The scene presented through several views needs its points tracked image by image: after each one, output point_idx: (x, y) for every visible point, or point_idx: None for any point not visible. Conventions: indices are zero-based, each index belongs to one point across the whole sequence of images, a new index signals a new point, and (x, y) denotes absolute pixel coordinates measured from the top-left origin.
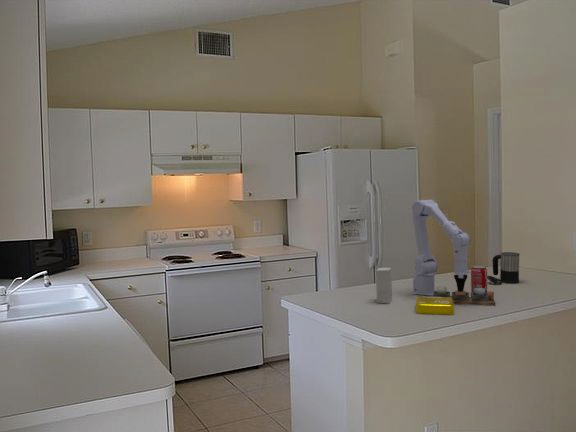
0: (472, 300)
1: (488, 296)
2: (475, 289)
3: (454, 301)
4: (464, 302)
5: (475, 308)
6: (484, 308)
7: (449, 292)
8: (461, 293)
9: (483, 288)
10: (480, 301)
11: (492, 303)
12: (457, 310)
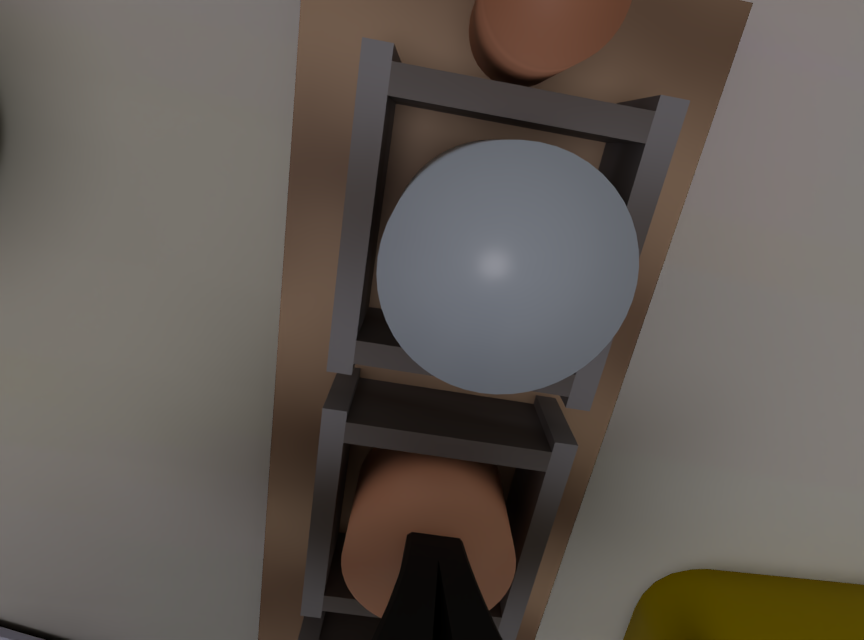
0: None
1: (683, 105)
2: (548, 381)
3: (560, 558)
4: (591, 453)
5: (813, 351)
6: (845, 235)
7: (318, 636)
8: (510, 551)
9: (471, 172)
10: None
11: (728, 58)
12: (850, 549)
